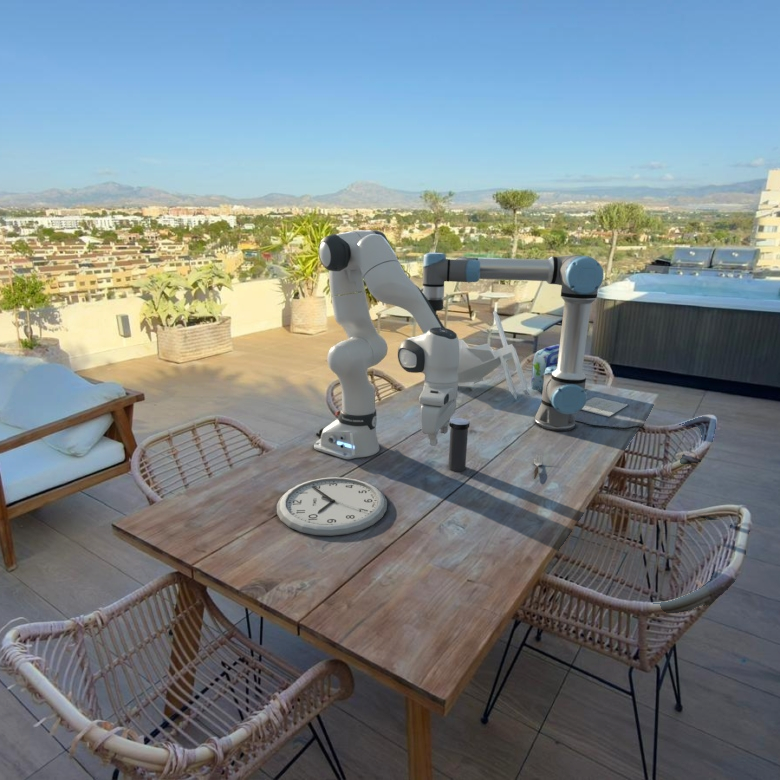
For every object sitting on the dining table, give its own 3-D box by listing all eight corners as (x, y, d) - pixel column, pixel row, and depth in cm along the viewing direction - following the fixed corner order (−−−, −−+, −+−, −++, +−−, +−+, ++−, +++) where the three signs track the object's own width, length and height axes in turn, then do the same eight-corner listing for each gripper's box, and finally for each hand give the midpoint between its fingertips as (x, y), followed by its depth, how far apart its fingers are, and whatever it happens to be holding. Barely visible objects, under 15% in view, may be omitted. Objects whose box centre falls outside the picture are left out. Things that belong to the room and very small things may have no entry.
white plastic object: (461, 429, 252) (437, 405, 227) (444, 352, 274) (420, 323, 250) (535, 404, 240) (518, 377, 215) (510, 326, 262) (492, 293, 237)
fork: (529, 479, 159) (530, 473, 158) (534, 459, 173) (535, 453, 173) (538, 481, 158) (539, 475, 158) (543, 460, 172) (543, 454, 172)
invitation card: (608, 416, 214) (573, 407, 224) (608, 416, 214) (573, 408, 224) (628, 404, 229) (594, 396, 238) (628, 405, 229) (594, 397, 238)
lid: (469, 430, 159) (469, 425, 159) (449, 429, 160) (449, 424, 159) (469, 423, 165) (469, 418, 164) (449, 422, 166) (449, 417, 165)
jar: (465, 472, 164) (468, 426, 159) (448, 470, 164) (450, 425, 160) (465, 464, 169) (468, 420, 164) (448, 463, 169) (451, 419, 165)
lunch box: (547, 397, 237) (552, 352, 231) (526, 391, 245) (531, 348, 238) (574, 386, 255) (580, 344, 249) (554, 381, 262) (559, 340, 256)
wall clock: (392, 527, 129) (268, 531, 127) (391, 533, 130) (269, 537, 127) (383, 473, 158) (282, 475, 155) (383, 478, 158) (282, 480, 156)
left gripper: (441, 378, 149) (439, 424, 153) (416, 399, 130) (415, 450, 135) (462, 381, 146) (460, 427, 150) (441, 402, 128) (439, 454, 132)
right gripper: (424, 293, 195) (422, 349, 202) (419, 302, 172) (417, 365, 178) (444, 294, 195) (441, 350, 201) (442, 303, 171) (439, 366, 177)
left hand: (439, 438), depth 142 cm, fingers open, 8 cm apart
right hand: (430, 357), depth 190 cm, fingers open, 13 cm apart
